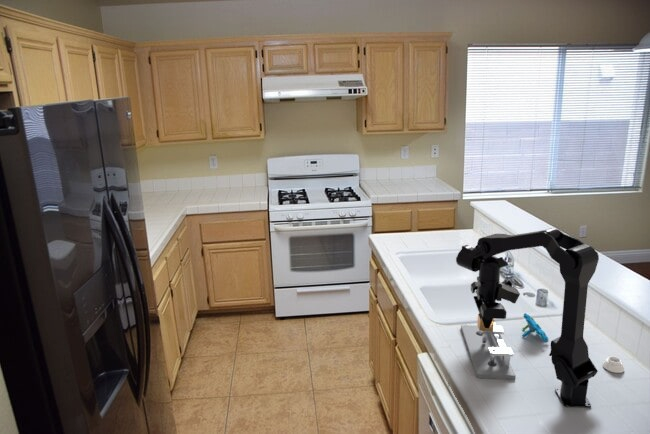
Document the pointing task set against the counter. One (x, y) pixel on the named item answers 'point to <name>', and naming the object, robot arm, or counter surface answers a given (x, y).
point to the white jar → (613, 364)
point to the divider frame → (500, 351)
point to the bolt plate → (484, 355)
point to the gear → (533, 328)
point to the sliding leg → (488, 329)
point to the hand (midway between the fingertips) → (485, 325)
